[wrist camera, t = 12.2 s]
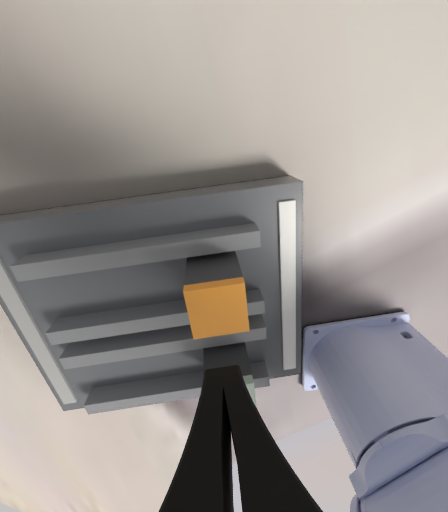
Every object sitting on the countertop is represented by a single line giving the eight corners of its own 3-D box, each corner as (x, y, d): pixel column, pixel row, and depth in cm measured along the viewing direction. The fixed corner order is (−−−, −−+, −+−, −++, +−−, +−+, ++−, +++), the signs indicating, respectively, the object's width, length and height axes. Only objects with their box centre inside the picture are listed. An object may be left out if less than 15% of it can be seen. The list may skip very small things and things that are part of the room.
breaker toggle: (234, 247, 17) (244, 282, 13) (238, 287, 18) (249, 331, 14) (187, 254, 16) (183, 291, 12) (195, 293, 18) (193, 339, 14)
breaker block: (289, 175, 17) (340, 198, 11) (291, 351, 24) (323, 427, 18) (-12, 216, 17) (-138, 265, 11) (76, 384, 24) (31, 475, 17)
